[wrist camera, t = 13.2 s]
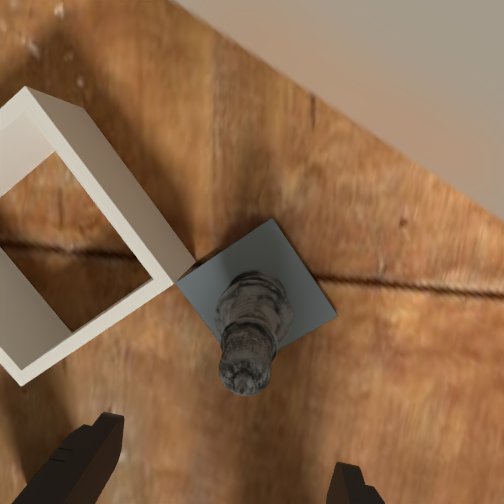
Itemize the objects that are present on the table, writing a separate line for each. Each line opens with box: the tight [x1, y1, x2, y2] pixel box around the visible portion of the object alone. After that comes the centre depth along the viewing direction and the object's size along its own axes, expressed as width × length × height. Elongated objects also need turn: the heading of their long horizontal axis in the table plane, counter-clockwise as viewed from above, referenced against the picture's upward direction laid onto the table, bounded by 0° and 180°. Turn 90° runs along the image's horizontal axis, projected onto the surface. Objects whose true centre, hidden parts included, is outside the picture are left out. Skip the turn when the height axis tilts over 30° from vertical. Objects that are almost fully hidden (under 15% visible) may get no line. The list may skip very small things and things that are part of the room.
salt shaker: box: [214, 270, 293, 396], centre depth 21 cm, size 6×6×12 cm
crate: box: [0, 86, 196, 386], centre depth 24 cm, size 15×15×6 cm
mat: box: [175, 218, 338, 351], centre depth 27 cm, size 10×10×1 cm
